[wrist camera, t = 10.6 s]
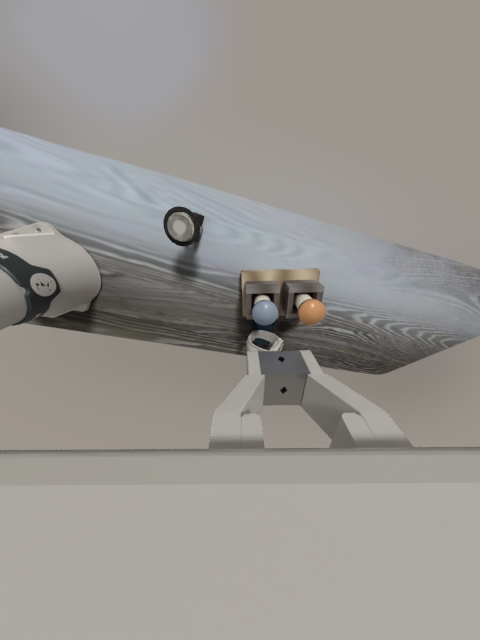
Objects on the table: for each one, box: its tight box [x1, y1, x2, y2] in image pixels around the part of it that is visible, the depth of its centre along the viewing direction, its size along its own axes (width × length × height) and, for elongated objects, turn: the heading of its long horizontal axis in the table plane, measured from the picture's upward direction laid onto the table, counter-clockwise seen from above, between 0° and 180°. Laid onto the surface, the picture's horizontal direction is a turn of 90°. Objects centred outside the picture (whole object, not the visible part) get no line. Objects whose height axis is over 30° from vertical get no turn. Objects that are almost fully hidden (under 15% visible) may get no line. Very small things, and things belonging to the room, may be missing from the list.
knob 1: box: [252, 293, 278, 325], centre depth 35 cm, size 4×4×9 cm
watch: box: [246, 322, 284, 351], centre depth 41 cm, size 6×8×11 cm
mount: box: [242, 269, 324, 319], centre depth 38 cm, size 16×10×7 cm, turn 92°
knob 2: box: [293, 292, 326, 325], centre depth 35 cm, size 4×4×9 cm
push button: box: [164, 207, 204, 249], centre depth 31 cm, size 7×5×10 cm
